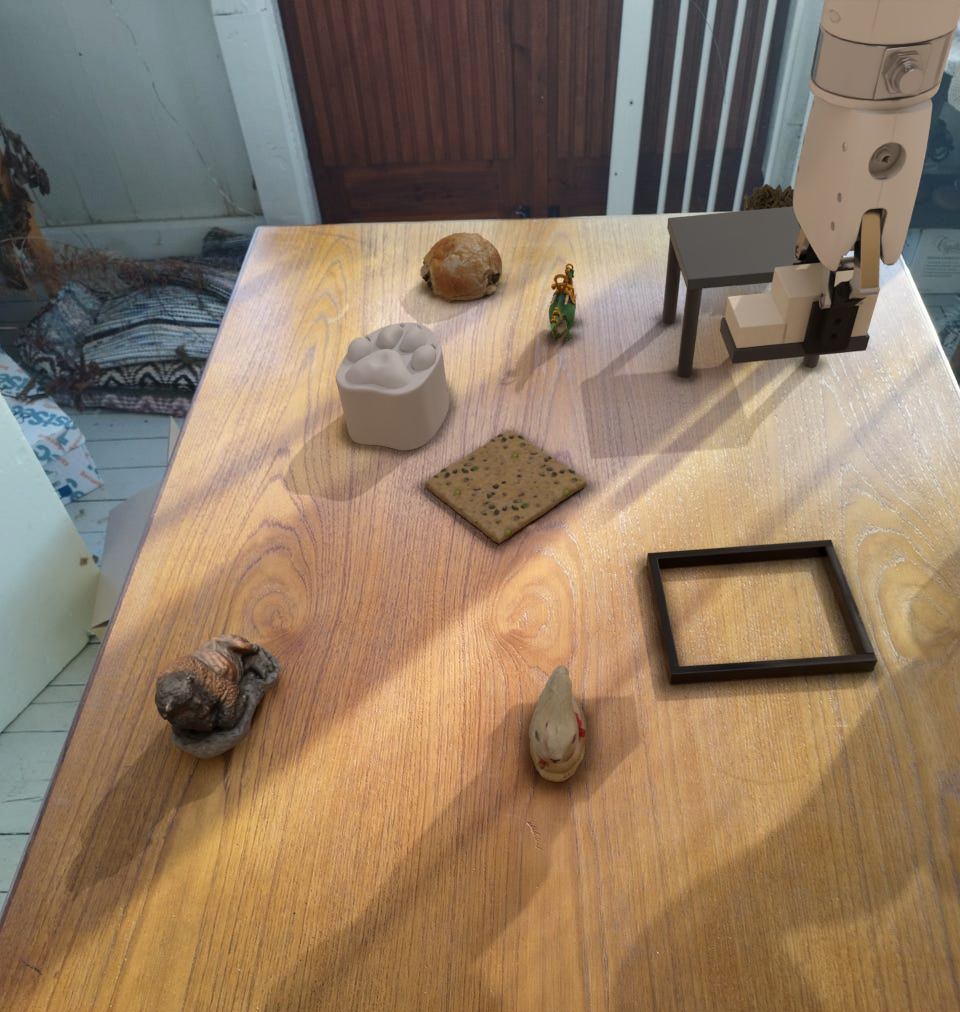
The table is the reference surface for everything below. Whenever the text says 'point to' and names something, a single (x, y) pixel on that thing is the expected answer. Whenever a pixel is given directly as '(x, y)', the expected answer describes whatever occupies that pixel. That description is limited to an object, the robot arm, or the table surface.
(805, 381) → the table surface
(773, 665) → the black rectangular frame
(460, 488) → the cookie
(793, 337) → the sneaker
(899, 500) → the table surface
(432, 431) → the lumpy-topped squat cylinder
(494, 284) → the bread roll
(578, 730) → the chocolate bunny
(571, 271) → the figurine
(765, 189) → the olive lumpy mound
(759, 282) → the small grey table
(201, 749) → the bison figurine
